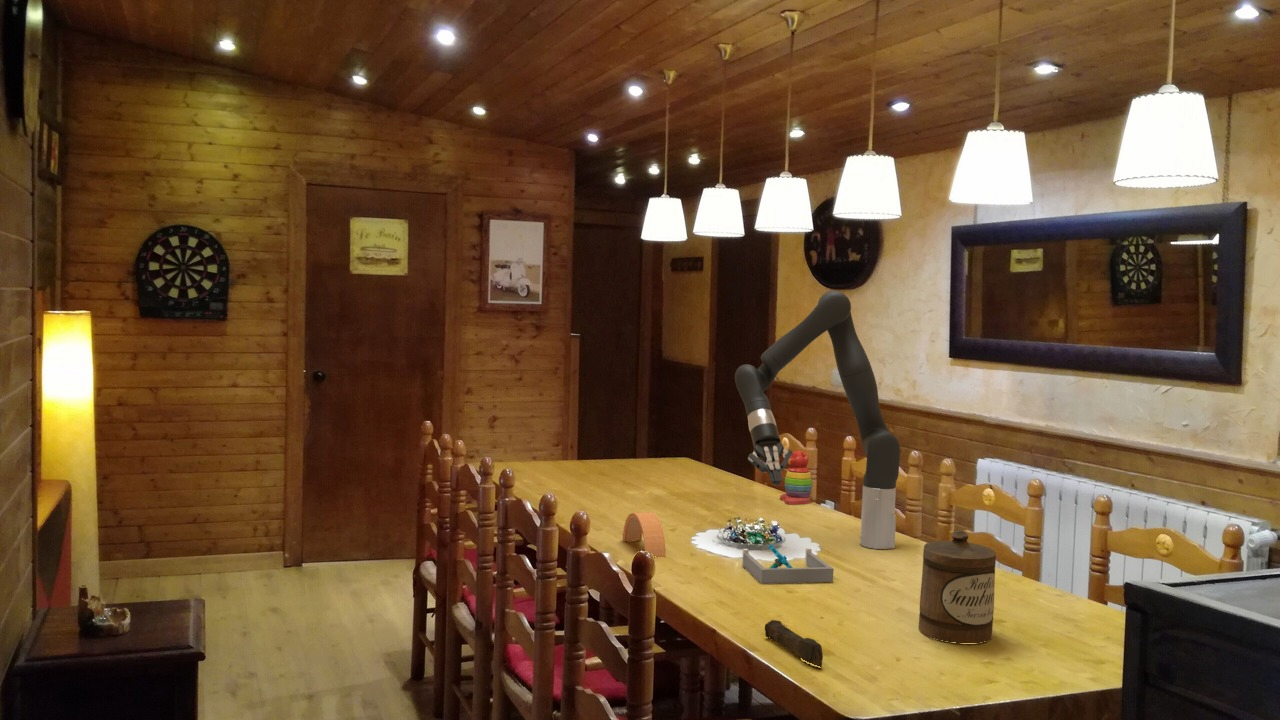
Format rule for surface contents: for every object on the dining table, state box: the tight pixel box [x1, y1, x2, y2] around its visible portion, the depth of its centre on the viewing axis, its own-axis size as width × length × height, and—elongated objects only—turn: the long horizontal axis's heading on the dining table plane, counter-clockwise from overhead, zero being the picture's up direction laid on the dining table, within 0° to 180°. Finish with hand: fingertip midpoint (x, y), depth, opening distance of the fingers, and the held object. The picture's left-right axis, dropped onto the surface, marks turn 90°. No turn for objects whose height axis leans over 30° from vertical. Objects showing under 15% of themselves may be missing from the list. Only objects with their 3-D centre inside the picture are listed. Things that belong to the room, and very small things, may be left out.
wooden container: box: [918, 529, 997, 643], centre depth 210 cm, size 15×15×22 cm
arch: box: [622, 511, 666, 559], centre depth 273 cm, size 6×20×10 cm, turn 18°
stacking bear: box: [779, 449, 813, 506], centre depth 346 cm, size 11×10×18 cm
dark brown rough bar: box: [764, 619, 824, 668], centre depth 196 cm, size 19×4×5 cm, turn 19°
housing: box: [741, 547, 834, 585], centre depth 253 cm, size 17×18×4 cm
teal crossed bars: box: [767, 544, 794, 568], centre depth 253 cm, size 11×6×10 cm
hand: (777, 484), depth 269 cm, fingers closed
